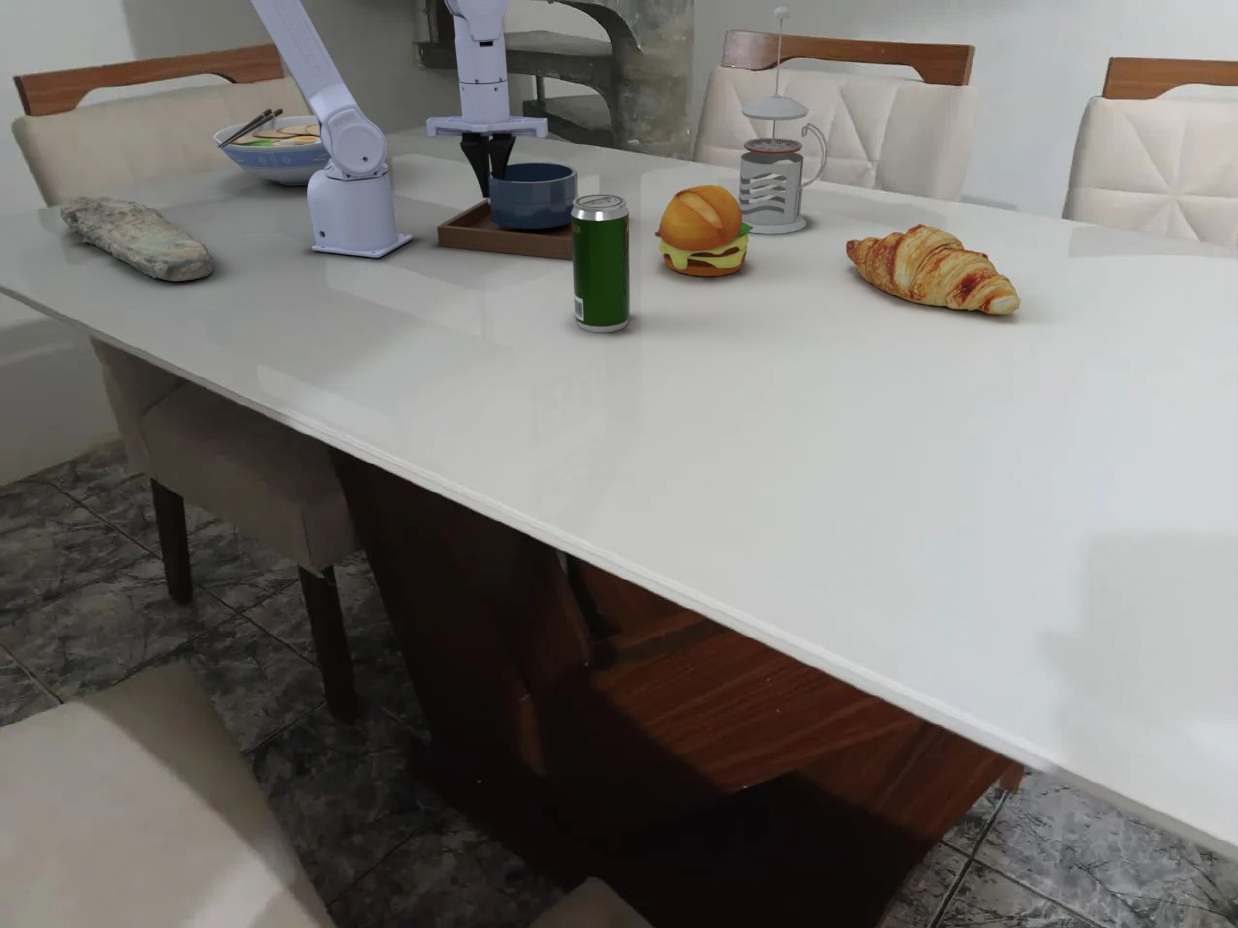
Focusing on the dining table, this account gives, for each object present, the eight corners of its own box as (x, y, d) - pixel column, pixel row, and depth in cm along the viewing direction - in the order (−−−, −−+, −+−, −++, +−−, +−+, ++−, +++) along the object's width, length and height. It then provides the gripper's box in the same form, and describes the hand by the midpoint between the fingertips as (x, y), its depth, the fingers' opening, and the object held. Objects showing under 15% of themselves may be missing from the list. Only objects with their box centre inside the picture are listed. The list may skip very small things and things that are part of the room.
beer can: (594, 338, 89) (590, 213, 82) (565, 320, 93) (559, 199, 86) (640, 325, 91) (640, 203, 85) (610, 309, 95) (608, 190, 89)
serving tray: (438, 246, 114) (436, 226, 112) (499, 209, 127) (498, 191, 126) (572, 260, 108) (571, 240, 107) (621, 220, 122) (620, 202, 120)
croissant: (1023, 346, 94) (1061, 270, 92) (982, 325, 87) (1022, 242, 85) (856, 286, 108) (885, 219, 106) (808, 263, 101) (839, 192, 99)
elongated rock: (152, 305, 101) (240, 287, 108) (142, 258, 99) (233, 242, 105) (45, 223, 122) (125, 212, 128) (35, 183, 119) (116, 173, 126)
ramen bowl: (356, 201, 132) (347, 141, 127) (196, 203, 132) (181, 143, 128) (395, 160, 153) (388, 107, 149) (257, 162, 153) (246, 109, 149)
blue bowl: (480, 227, 114) (476, 181, 111) (501, 204, 123) (498, 161, 120) (569, 230, 112) (568, 184, 110) (584, 206, 122) (583, 163, 119)
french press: (744, 208, 126) (755, 2, 113) (829, 218, 121) (850, 4, 108) (718, 228, 118) (727, 9, 105) (807, 239, 114) (828, 12, 101)
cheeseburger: (763, 254, 108) (763, 175, 101) (732, 306, 102) (731, 224, 95) (681, 243, 112) (676, 165, 105) (647, 292, 105) (639, 212, 98)
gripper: (413, 86, 108) (427, 203, 115) (536, 86, 106) (543, 206, 113) (431, 76, 114) (443, 188, 121) (548, 76, 112) (554, 190, 119)
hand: (493, 196), depth 117 cm, fingers closed on blue bowl
